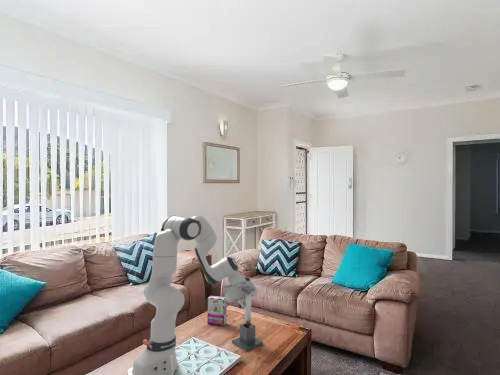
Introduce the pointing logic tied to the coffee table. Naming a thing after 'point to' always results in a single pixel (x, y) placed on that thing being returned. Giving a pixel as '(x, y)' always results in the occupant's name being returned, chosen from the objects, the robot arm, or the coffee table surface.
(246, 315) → the steel post
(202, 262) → the robot arm
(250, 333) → the jack stand base
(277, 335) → the coffee table surface
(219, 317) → the candy bar box
